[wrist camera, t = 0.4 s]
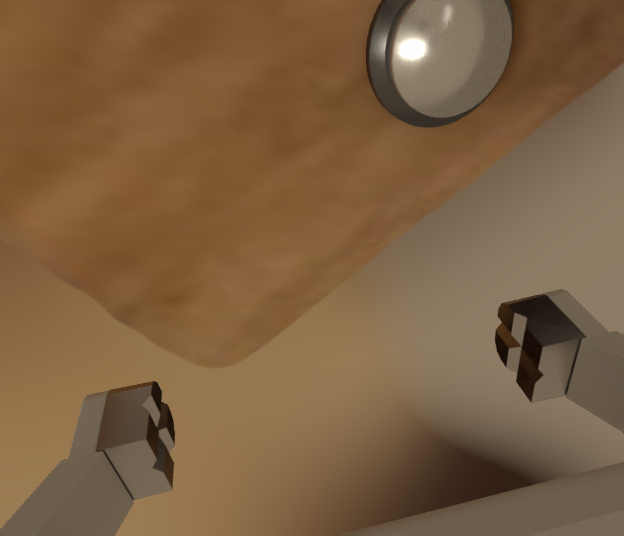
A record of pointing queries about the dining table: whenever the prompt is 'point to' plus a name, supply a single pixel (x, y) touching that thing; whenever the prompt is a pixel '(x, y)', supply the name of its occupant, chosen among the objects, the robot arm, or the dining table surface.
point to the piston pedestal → (437, 56)
